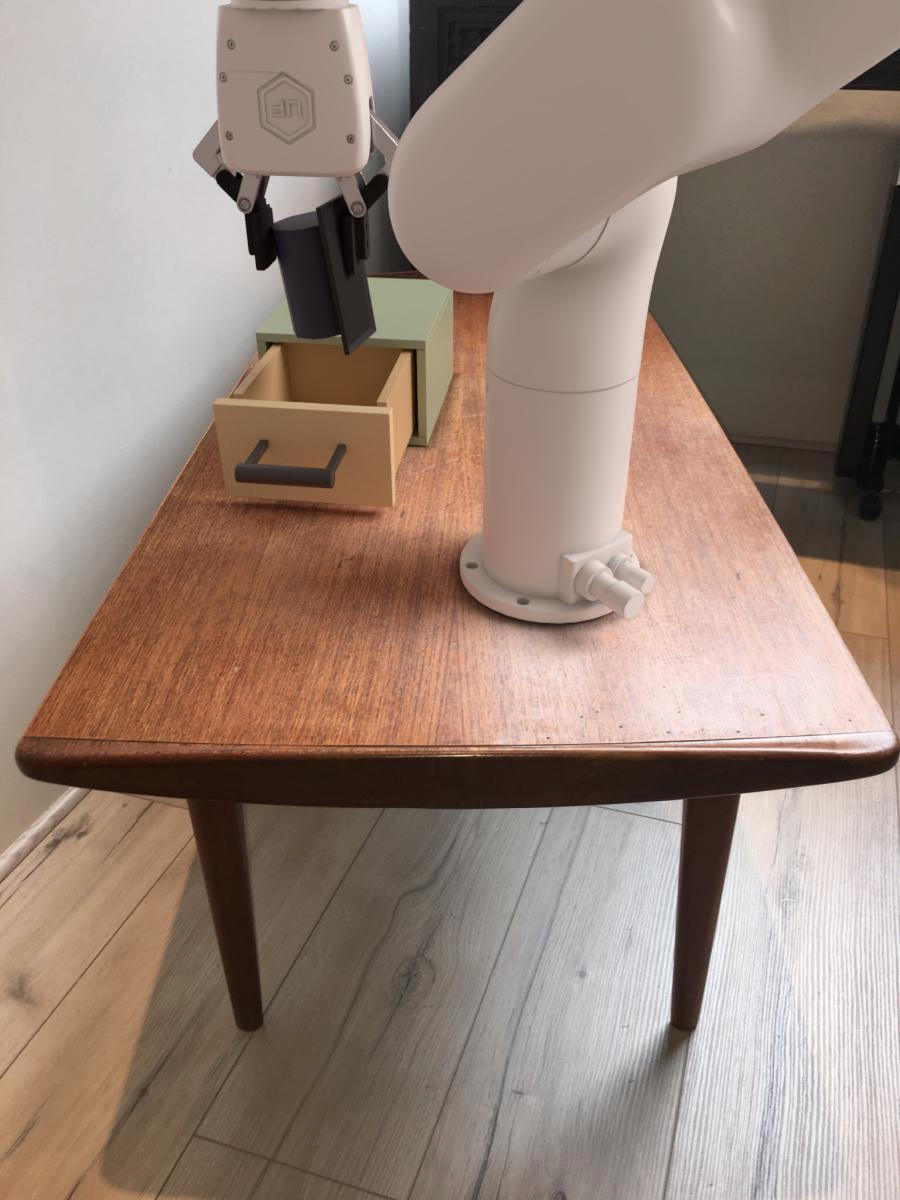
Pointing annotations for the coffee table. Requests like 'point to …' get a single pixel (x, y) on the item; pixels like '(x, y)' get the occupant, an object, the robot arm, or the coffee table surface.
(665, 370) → the coffee table surface
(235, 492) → the drawer
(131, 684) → the coffee table surface
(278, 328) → the cabinet
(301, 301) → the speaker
